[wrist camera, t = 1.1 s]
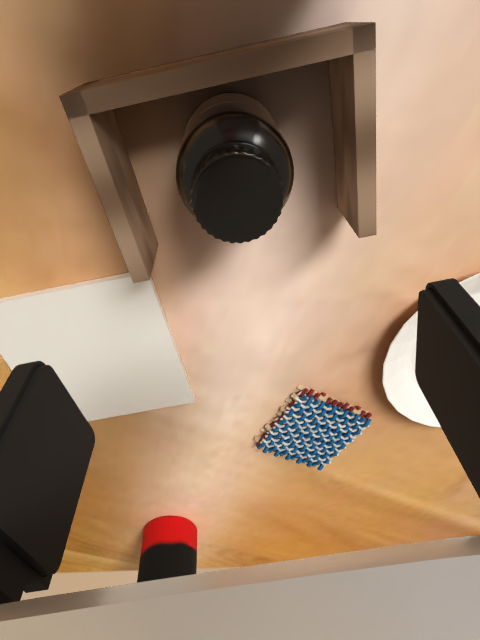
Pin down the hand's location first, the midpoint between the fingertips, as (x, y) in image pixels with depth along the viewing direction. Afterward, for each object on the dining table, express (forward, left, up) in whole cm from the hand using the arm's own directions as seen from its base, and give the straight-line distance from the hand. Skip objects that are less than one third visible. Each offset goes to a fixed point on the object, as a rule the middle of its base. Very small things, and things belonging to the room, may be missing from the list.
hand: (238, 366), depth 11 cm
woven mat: (-33, -4, -25) cm, 42 cm away
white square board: (-17, +16, -25) cm, 34 cm away
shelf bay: (-1, -1, -25) cm, 25 cm away
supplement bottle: (0, -1, -25) cm, 25 cm away
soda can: (-50, +18, -25) cm, 58 cm away
